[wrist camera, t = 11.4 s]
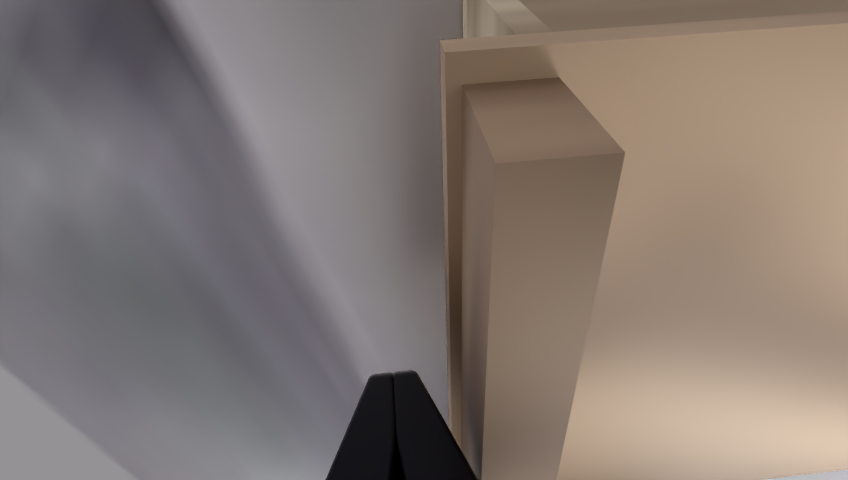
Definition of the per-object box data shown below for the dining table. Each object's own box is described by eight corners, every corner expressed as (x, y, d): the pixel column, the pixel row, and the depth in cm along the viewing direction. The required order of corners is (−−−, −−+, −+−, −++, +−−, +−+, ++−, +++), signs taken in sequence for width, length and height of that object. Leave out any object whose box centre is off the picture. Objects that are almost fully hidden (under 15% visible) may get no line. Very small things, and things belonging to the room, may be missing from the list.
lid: (842, 450, 14) (924, 552, 12) (450, 496, 13) (466, 610, 11) (1211, -16, 7) (1551, 38, 5) (440, 40, 6) (474, 124, 4)
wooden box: (756, 315, 17) (858, 435, 14) (462, 345, 17) (488, 477, 13) (935, -59, 11) (1218, -15, 7) (463, -28, 10) (515, 35, 7)
